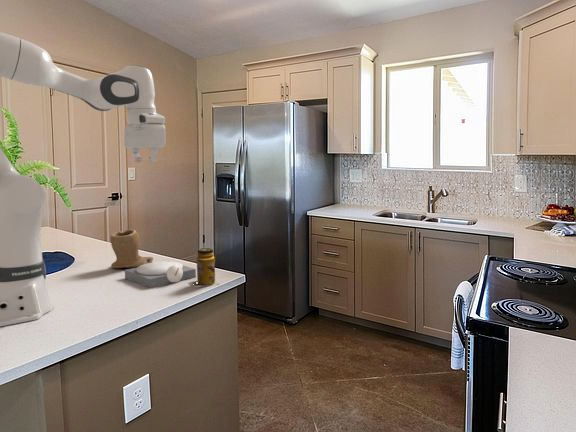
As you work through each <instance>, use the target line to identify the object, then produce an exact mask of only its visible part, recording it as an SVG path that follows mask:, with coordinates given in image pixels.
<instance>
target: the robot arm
mask: <svg viewBox="0 0 576 432" xmlns="http://www.w3.org/2000/svg"><path fill="white" fill-rule="evenodd" d="M0 77H2V78H5V79H8V80H11V81H14V82H19V83H23V84H26V85H32V86H37V87H38V86H39V87H42V88H48V89H51V90H55V91H57V92H60V93H63V94H67V95H69V96H72V97H75V98H77V99H80V100H81V101H83V102H84V103H86V104H87V105H88V106H90V107H91V108H92V109H94V110H97V111H99V112H108V111H111V110H112V109H115V108H119V107H122V106H125V107H126V112H127V113H126V114H127V115H126V116H127V123H126V125H125V127H124V131H123V135H124V136H123V139H124V142H123V143H124V147H125V149H128V150H129V149H131V153H132V155H133V159H134V162H135V163H142V161H143V160H142V159H143V158H142V156H141V155H140V149H149V151H150V157H149V158H148V159H149V160H148V161H149V163H156V164H157V162H158V160H157V159H158V158H157V157H158V153H159V148H165V146H166V143H167V136H166V135H167V134H166V126H165V124H166V118H165V116H164V115H163V114H162V115H161V114H159V113H157V108H156V105H155V97H156V92H155V84H154V83H155V82H154V77H153V73H152V72H151V71H150V70H149V69H148V68H146V67H145V66H142V65H136V64H130V65H126V66H125V67H124V68H123V69H121V70H119V71H116V72H113V73H108V74H106V75H104V76H101V77H99V78H92V79H91V78H84V77H82V76H79V75H76V74H75V73H72V72H68V71H66V70H64V69H61V68H59V66H57V65H56V64H55V63H54V61H53V59H52V57H51V55H50V53H49V52H48V51H47V50H45V49H44V48H42V47H41V46H39V45H37V44H35V43H33V42H31V41H29V40H26V39H23V38H21V37H17V36H15V35H12V34H8V33H5V32H2V31H0ZM45 199H46V192H45V190H44V188H43V186H42V185H41V184H40V183H39V182H38V181H37V180H36V179H35V178H33V177H31V176H28V175H25V174H20V173H19V172H18V171H17V169H16V168H15V167H14V165H13V164H12V163H11V162H10V160H9V158H8V156H7V155H6V154H5V152H4V151H3V149H2V147H1V146H0V327H4V326H9V325H10V326H11V325H14V324H15V325H16V324H19V323H24V322H25V323H26V322H31V321H36V320H38V319H40V318H41V317H43V316H44V315H45V314H47V313H49V312H50V311H51V310H52V309H53V308H54V307H53V306H54V305H53V303H52V300H51V299H50V298H51V297H50V296H49V292H48V288H47V284H46V278H47V269H46V264H45V260H44V259H43V249H42V237H41V236H42V235H41V232H42V231H41V230H42V222H43V221H42V219H43V209H44V208H43V207H44V204H45V201H46V200H45Z"/></svg>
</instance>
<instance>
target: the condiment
mask: <svg viewBox="0 0 576 432" xmlns="http://www.w3.org/2000/svg"><path fill="white" fill-rule="evenodd" d="M215 260H216V259H215V256H214V249H213V248H210V247H204V248H203V247H202V248H198V249H197V257H196V278H197V279H196V281H195V280H194V281H189V282H188V283H189V284H190V285H191V286H192V287H194V288H197V289H198V288H203V287H210V286H216V285H219V284H220V283H219V282H218V281H216V268H215V267H216V264H215ZM196 282H198V284H196ZM193 284H194V285H193ZM198 285H201V286H198Z"/></svg>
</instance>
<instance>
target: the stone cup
mask: <svg viewBox="0 0 576 432" xmlns="http://www.w3.org/2000/svg"><path fill="white" fill-rule="evenodd" d="M109 241H110V244H111V248H112V250H113V253H114V254H115V256H116V260H114V261H113V262H112V263H111V267H112V268H114V269H125V268H126V269H127V268H128V269H131V268H137V267H139V266H141V265H144V264H148V263H153V261H154V257H153V256H141V255H140V254H139V253H140V252H139V249H140V236H139V233H138V232H137V230H135V229H126V230H124V231H123V230H120V231H119V230H118V231H115V232H114V233H112V234H111V235H110V240H109Z"/></svg>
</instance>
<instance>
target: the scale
mask: <svg viewBox="0 0 576 432" xmlns="http://www.w3.org/2000/svg"><path fill="white" fill-rule="evenodd" d="M193 277H194V278H197V268H194V267H190V266H187V265H184V264H182V263H181V262H178V261H170V260H169V261H167V260H166V261H154V262H153V261H152V263H148V264H144V265H141V266H139V267H131V268H128V269H127V268H126V269H124V278H125V279H127V280H129V281H132V282H134V283H137V284H139V285H143V286H144V287H147V288H149V289H152V288H157V287H160V286H161V287H162V286H164V285H168V284H172V283H177V282H181V281H185V280H189V278H190V279H193Z"/></svg>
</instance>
